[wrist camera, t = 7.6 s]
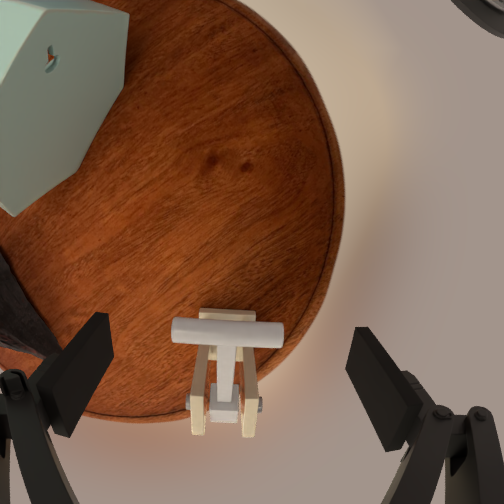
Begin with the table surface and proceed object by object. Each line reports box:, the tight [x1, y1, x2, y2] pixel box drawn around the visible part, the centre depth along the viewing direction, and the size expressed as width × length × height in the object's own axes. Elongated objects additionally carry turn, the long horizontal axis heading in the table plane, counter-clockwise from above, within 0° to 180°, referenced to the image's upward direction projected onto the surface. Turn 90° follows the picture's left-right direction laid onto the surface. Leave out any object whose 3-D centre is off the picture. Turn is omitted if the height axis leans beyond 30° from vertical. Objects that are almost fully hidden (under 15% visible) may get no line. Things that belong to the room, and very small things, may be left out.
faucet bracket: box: [186, 308, 262, 437], centre depth 29 cm, size 6×6×14 cm
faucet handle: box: [171, 317, 284, 423], centre depth 21 cm, size 12×6×2 cm, turn 176°
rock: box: [0, 253, 63, 360], centre depth 29 cm, size 7×18×9 cm, turn 31°
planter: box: [0, 0, 130, 217], centre depth 20 cm, size 17×8×21 cm
